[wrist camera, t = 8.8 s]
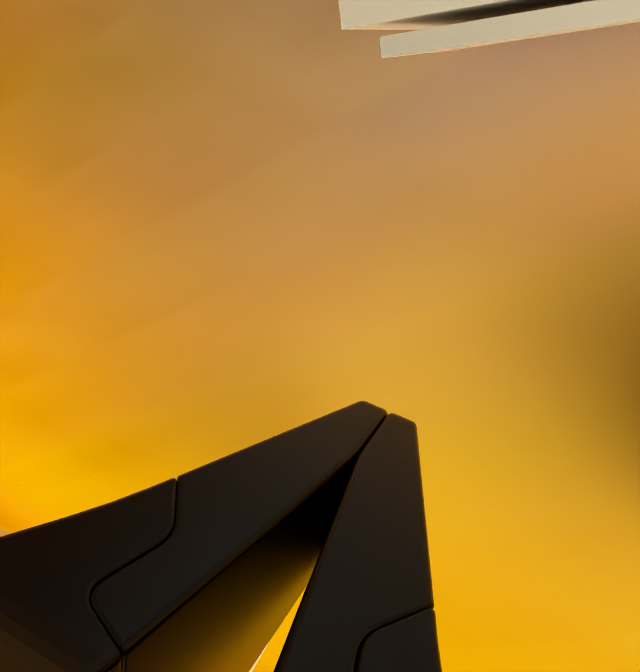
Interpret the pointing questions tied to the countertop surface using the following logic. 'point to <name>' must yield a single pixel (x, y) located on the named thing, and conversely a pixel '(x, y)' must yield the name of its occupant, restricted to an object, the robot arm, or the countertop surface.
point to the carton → (478, 21)
